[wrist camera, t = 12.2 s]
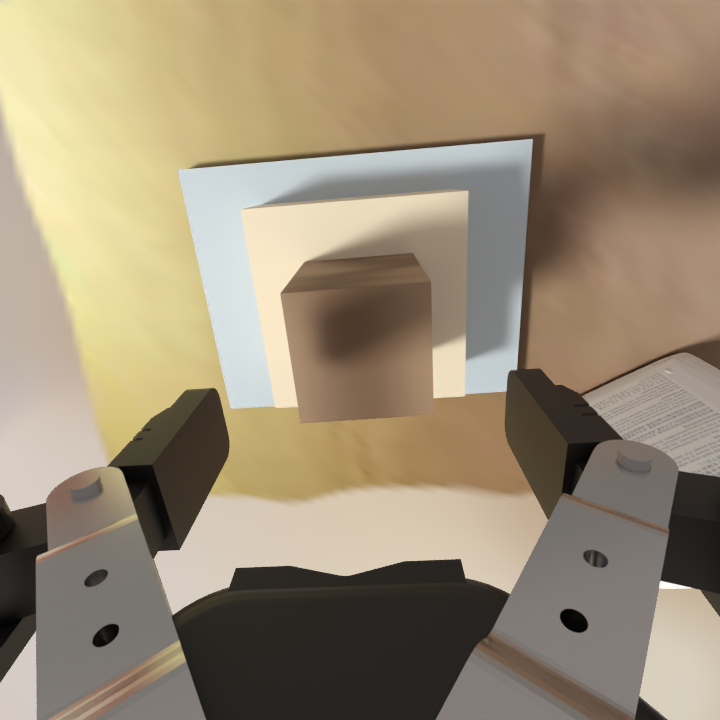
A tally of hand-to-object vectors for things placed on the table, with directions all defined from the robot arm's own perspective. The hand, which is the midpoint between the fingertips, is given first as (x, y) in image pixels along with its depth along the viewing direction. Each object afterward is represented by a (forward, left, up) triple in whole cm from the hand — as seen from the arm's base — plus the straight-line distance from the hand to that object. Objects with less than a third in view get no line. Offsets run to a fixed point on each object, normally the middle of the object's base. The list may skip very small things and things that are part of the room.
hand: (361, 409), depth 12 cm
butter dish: (0, 0, -15) cm, 15 cm away
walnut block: (0, 0, -10) cm, 10 cm away
